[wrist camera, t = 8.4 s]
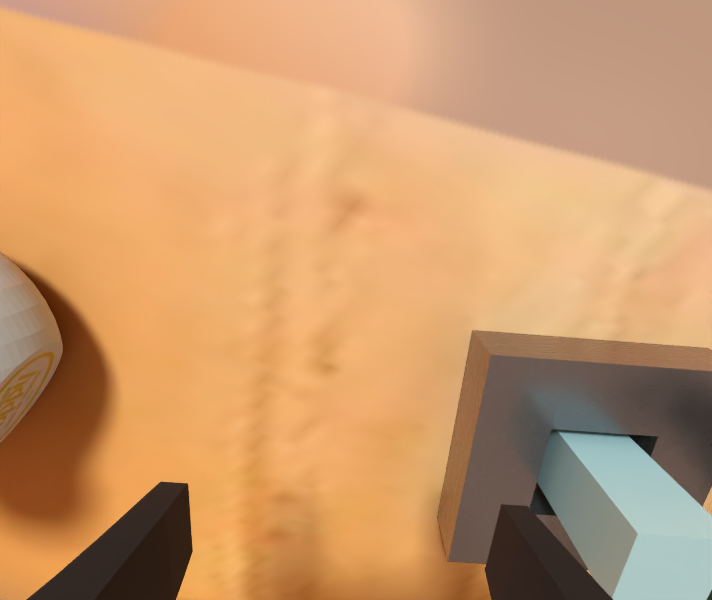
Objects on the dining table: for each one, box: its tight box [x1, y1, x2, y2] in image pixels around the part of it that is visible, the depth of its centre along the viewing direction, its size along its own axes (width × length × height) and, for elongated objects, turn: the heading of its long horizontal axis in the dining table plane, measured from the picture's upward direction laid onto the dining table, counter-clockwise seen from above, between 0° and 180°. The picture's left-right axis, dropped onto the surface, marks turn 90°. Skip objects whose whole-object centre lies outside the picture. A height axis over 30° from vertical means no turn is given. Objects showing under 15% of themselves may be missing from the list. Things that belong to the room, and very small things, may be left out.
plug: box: [537, 429, 712, 600], centre depth 16 cm, size 3×3×7 cm
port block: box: [437, 330, 712, 570], centre depth 18 cm, size 11×11×2 cm
